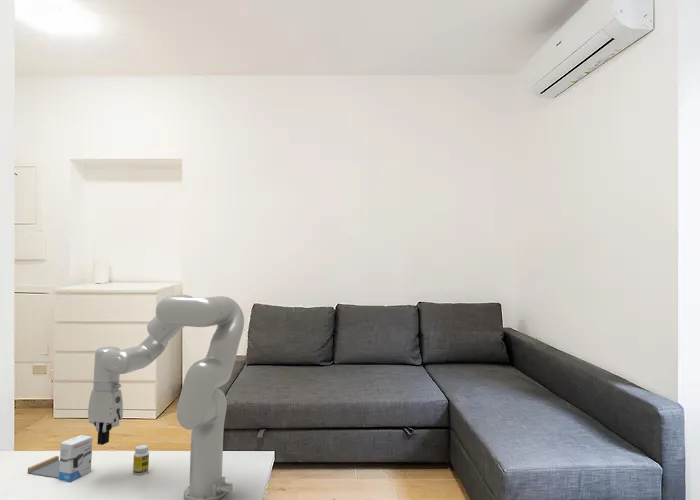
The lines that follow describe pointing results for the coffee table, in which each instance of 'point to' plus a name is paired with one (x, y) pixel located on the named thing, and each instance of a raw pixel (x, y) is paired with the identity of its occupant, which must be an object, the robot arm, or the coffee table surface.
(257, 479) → the coffee table surface
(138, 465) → the supplement bottle
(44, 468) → the mat
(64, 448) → the ink box
